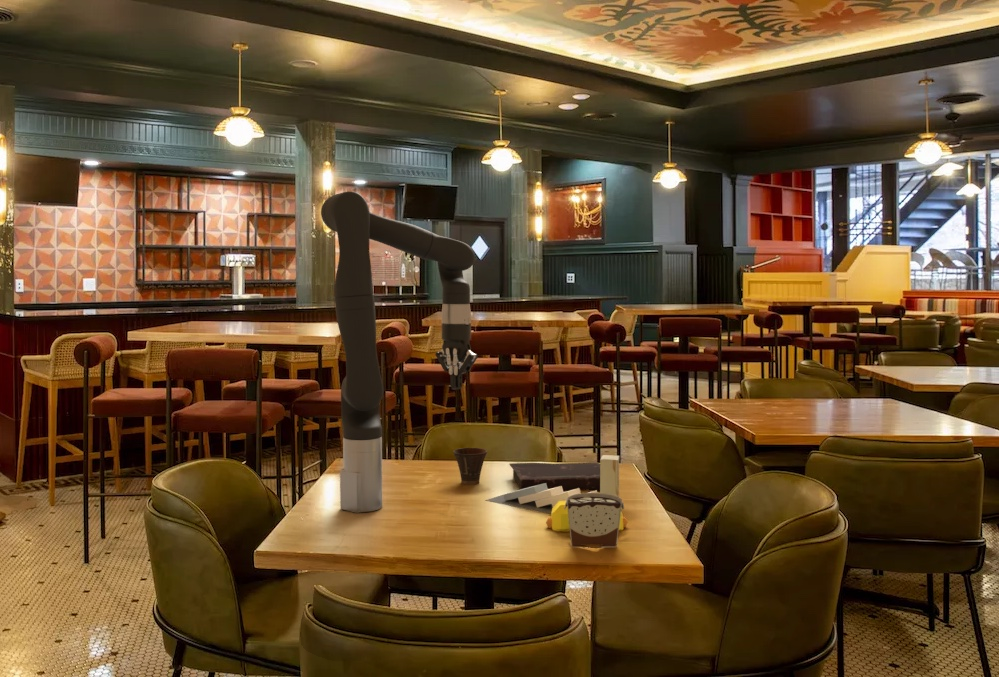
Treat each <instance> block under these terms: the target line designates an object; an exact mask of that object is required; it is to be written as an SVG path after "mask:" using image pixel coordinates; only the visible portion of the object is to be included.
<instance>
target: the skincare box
mask: <svg viewBox="0 0 999 677" xmlns="http://www.w3.org/2000/svg"><path fill="white" fill-rule="evenodd" d="M599 462H600V463H599V464H600V492H599V493H603V494H609V495H614V496H617V497H619V498H620V455H615V454H614V455H611V454H610V455H609V454H602V455H601V457H600V460H599Z"/></svg>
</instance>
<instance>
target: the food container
mask: <svg viewBox="0 0 999 677" xmlns="http://www.w3.org/2000/svg"><path fill="white" fill-rule="evenodd" d="M566 507H567V508H568V518H569V528H570V531H569V536H570V545H571V547H588V548H589V547H591V548H593V549H594V547H592V546H591V545H597V547H596V548H598V549H599V548H601V549H602V548H603V549H605V548H617V547H618V541H619V539H618V538H619V532H620V531H619V524H620V515H621V512H622V509H623V510H625V505H624V502H623V499H622V498H621V497H620V496H619V497H617V496H614V495H609V494H603V493H600V492H597V493H588V492H583V493H581V494H575V495H571V496H569V497H568V498H567V501H566V503H565V508H564V510H565V509H566ZM589 545H590V546H589ZM571 547H570V548H571ZM588 548H587V549H588ZM591 548H590V549H591Z"/></svg>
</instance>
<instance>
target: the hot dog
mask: <svg viewBox="0 0 999 677" xmlns="http://www.w3.org/2000/svg"><path fill="white" fill-rule="evenodd" d="M565 503H566V501H558V503H557V504H556V505H555V506H554V507H553V508H552V512H551V514H550V516H549V517H547V520H546V522H545V525H546V526H547V528H548V529H552V531H553V532H570V528H569V518H568V508H567V507H566V509H565V510H564V508H565ZM627 524H628V520H627V518H626V517H625V516H624V515H623V512H622V511H621V515H620V524H619V532H621V531H623V530H624V528H626V527H627Z"/></svg>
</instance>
